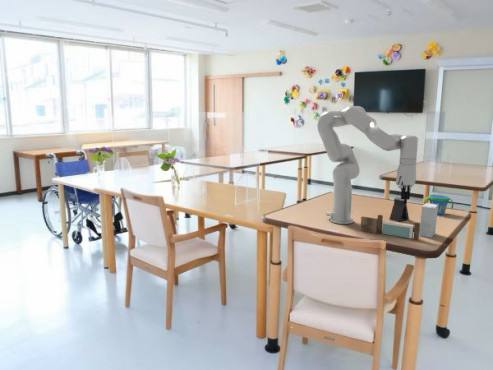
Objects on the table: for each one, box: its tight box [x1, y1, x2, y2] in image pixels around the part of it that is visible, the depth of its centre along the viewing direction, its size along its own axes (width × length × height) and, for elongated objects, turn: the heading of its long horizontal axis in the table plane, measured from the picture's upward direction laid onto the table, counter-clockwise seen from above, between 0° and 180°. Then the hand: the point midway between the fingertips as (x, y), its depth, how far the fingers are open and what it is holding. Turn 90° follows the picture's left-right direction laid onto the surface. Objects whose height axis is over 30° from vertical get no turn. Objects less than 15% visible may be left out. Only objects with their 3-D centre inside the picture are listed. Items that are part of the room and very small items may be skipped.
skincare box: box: [419, 202, 438, 239], centre depth 201 cm, size 8×6×15 cm
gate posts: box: [360, 214, 420, 241], centre depth 202 cm, size 28×3×9 cm, turn 56°
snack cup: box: [423, 194, 454, 216], centre depth 241 cm, size 16×10×10 cm
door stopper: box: [389, 197, 410, 223], centre depth 228 cm, size 9×6×12 cm, turn 123°
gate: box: [382, 220, 414, 239], centre depth 199 cm, size 14×2×6 cm, turn 56°
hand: (405, 199), depth 202 cm, fingers closed
